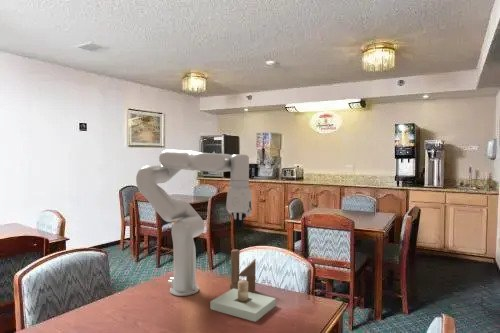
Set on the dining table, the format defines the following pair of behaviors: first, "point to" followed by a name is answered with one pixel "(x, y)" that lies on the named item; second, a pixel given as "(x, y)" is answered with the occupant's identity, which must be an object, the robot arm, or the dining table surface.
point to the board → (243, 305)
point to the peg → (243, 291)
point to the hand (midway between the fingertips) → (239, 228)
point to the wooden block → (247, 272)
